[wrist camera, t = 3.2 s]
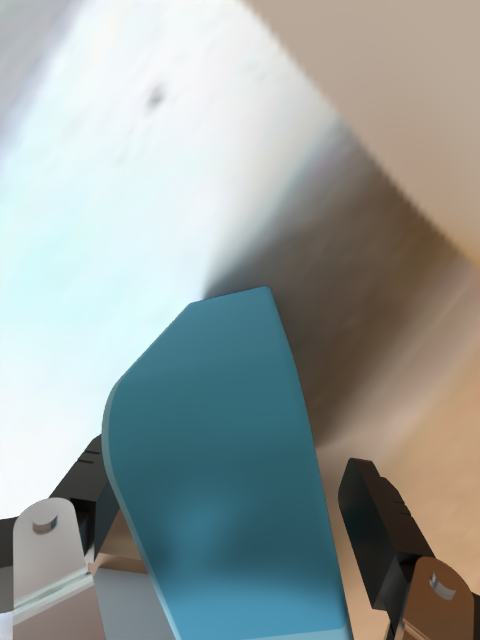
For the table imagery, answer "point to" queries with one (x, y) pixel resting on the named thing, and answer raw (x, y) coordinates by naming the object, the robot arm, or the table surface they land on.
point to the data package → (225, 478)
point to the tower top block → (130, 606)
